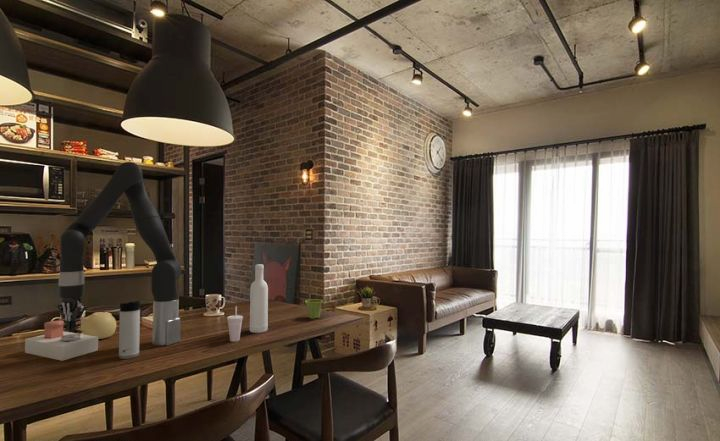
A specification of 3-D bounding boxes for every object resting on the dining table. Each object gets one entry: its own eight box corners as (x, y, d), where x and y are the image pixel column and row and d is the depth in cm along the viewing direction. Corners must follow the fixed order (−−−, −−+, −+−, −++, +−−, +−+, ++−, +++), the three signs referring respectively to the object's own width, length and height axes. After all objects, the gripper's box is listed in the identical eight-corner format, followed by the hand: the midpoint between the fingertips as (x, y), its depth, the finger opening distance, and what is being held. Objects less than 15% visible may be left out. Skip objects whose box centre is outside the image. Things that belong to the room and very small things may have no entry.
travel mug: (124, 360, 129) (125, 303, 129) (115, 357, 132) (116, 301, 133) (143, 355, 134) (144, 300, 135) (133, 352, 138) (134, 298, 138)
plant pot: (302, 319, 190) (302, 302, 190) (307, 315, 199) (308, 298, 199) (320, 320, 188) (320, 302, 189) (324, 315, 198) (324, 299, 198)
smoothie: (246, 339, 155) (246, 305, 155) (235, 343, 149) (235, 308, 149) (234, 337, 157) (234, 304, 158) (223, 341, 152) (223, 307, 152)
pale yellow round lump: (105, 332, 163) (105, 308, 164) (121, 336, 158) (122, 310, 158) (76, 339, 153) (76, 313, 153) (92, 343, 148) (93, 316, 148)
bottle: (261, 333, 163) (261, 265, 164) (246, 332, 166) (246, 265, 166) (271, 329, 171) (271, 264, 171) (256, 327, 173) (257, 263, 174)
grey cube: (83, 350, 138) (83, 334, 138) (66, 355, 133) (67, 338, 133) (73, 348, 140) (74, 333, 140) (57, 353, 135) (57, 337, 135)
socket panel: (97, 350, 140) (98, 337, 140) (62, 360, 128) (62, 346, 129) (61, 343, 148) (61, 330, 148) (24, 352, 136) (25, 339, 137)
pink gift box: (66, 336, 142) (67, 321, 142) (49, 340, 136) (50, 324, 137) (57, 335, 144) (57, 319, 144) (40, 339, 138) (41, 323, 139)
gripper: (94, 283, 138) (93, 329, 137) (71, 281, 142) (70, 326, 142) (72, 285, 131) (72, 335, 130) (48, 284, 135) (48, 331, 135)
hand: (71, 330), depth 136 cm, fingers closed
